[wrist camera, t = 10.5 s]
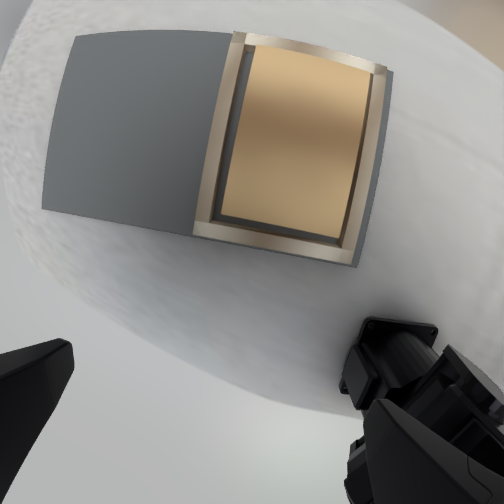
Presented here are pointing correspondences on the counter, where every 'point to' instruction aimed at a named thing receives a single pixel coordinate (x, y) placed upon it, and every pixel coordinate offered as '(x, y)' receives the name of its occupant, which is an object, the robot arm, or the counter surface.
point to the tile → (296, 141)
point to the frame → (218, 141)
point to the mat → (153, 132)
